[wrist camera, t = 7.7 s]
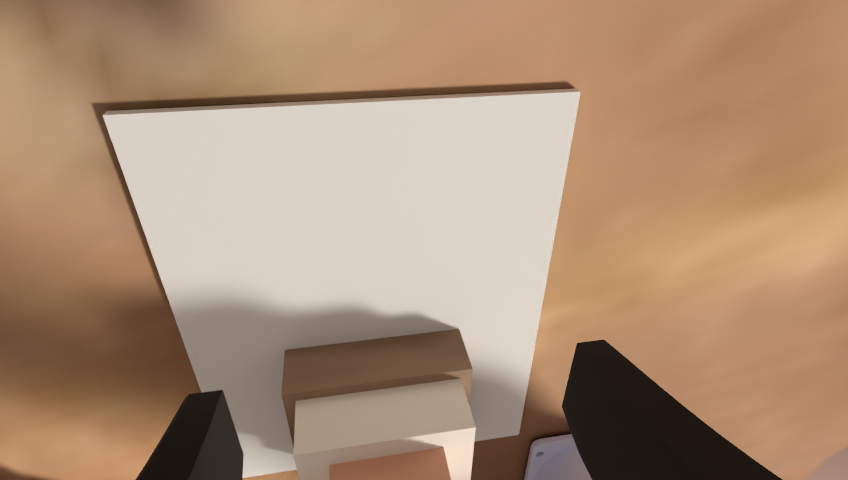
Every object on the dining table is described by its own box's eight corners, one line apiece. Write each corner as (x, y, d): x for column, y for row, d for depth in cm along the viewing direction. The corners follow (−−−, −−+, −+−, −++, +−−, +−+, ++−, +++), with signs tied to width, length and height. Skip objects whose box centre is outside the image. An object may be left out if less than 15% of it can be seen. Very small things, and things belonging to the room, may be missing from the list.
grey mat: (516, 428, 29) (518, 434, 29) (233, 472, 27) (232, 479, 27) (575, 88, 18) (580, 91, 18) (106, 111, 16) (102, 115, 16)
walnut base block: (452, 434, 28) (463, 476, 26) (306, 456, 27) (305, 502, 25) (459, 328, 24) (472, 368, 21) (284, 349, 22) (281, 394, 20)
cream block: (454, 471, 26) (466, 521, 23) (314, 495, 24) (314, 548, 22) (460, 378, 22) (475, 427, 20) (295, 400, 21) (293, 455, 19)
